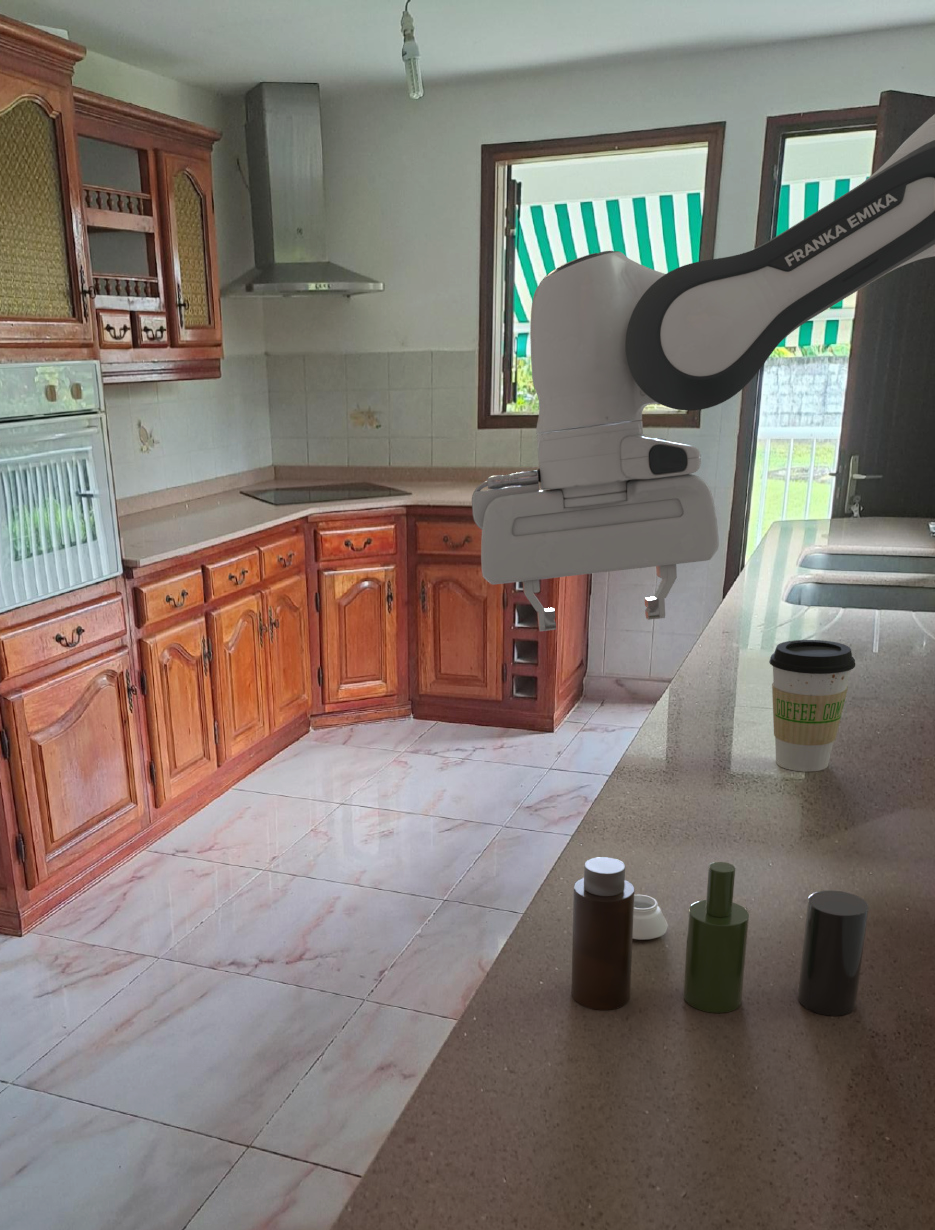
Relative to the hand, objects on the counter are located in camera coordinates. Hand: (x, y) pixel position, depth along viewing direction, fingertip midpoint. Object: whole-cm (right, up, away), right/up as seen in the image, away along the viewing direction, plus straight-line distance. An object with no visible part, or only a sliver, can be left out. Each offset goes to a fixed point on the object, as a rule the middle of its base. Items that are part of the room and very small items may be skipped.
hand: (601, 624), depth 99 cm
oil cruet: (+8, -32, -7) cm, 34 cm away
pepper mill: (-1, -32, -5) cm, 32 cm away
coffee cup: (+35, -12, +43) cm, 57 cm away
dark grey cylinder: (+17, -32, -8) cm, 37 cm away
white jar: (+5, -28, +5) cm, 29 cm away
